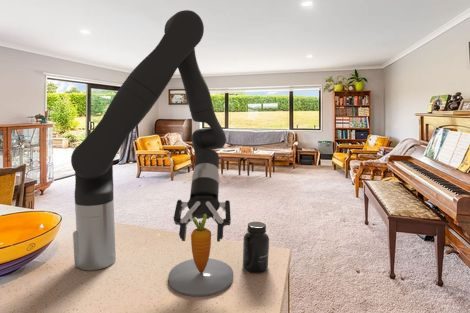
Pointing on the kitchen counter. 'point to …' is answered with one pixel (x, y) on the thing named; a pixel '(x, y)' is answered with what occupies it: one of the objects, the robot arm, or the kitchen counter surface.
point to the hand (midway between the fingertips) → (200, 240)
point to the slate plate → (200, 278)
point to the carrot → (201, 244)
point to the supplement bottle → (256, 248)
